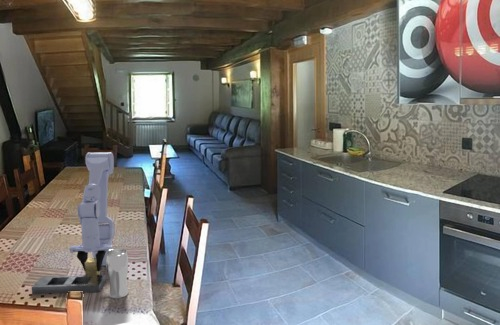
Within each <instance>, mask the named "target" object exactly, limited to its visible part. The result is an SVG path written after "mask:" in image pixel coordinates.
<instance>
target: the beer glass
mask: <svg viewBox="0 0 500 325" xmlns="http://www.w3.org/2000/svg"><path fill="white" fill-rule="evenodd" d="M105 269H106V273H107V278H108V281H109V292H108V296H109V297H110V298H111V299H114V298H115V300H116V299H117V300H118V299H123V298H125V297H127V295H128V294H129V289H128V285H127V283H128V282H127V279H128V273H129V257H128V250H127V249H125V248H113V249H112V250H109V251H107V252H106V267H105Z"/></svg>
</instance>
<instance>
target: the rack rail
mask: <svg viewBox="0 0 500 325" xmlns="http://www.w3.org/2000/svg"><path fill="white" fill-rule="evenodd" d="M106 276H107V275H106V274H99V275H86V274H85V275H84V274H83V275H50V276H49V275H48V276H47V275H45V276H44V275H43V276H41V277H40V278H38V280H37V281H36V282H35V283H34V284H32V286H31V294H32V295H38V294H39V295H41V294H68V293H67V292H68V291H83V292H82V293H99V292H101V290H102V289H103V286H104V285H105V283H106V282H107V279H106V278H107V277H106Z"/></svg>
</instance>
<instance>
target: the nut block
mask: <svg viewBox="0 0 500 325" xmlns="http://www.w3.org/2000/svg"><path fill="white" fill-rule="evenodd" d="M84 272H85V275H101V270H100V271H98V270H97V259H96V258H93V257H88V259H87V260H86V261H85V271H84Z"/></svg>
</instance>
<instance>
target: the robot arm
mask: <svg viewBox="0 0 500 325" xmlns="http://www.w3.org/2000/svg"><path fill="white" fill-rule="evenodd" d="M84 159H85V165H86V168H87V170H88V172H89V174H88V175H89V176H88V184H87V185H85V186H84V189H83V193H82V200H81V203H78V207H77V217H78V219H79V224H80V226H81V228H80V229H81V240H82V241H81V242H82V244H76V245H70V247H69V253H70V254H72V253H77V254H76V258H77V259H78V260H79V262H80V264H81V266H82V268H83V271H84V272H85V261H86V260H87V259H88V258H89V256H88V255H89V254H88V253H91V256H92V257H91V258H96V259H97V270H98V271H100V272H101V270H102V267H103V266H106V252H107V251H109V250H112V249H114V243H113V242H114V241H113V240H114V238H115V233H116V228H115V221H114V220H113V219H112V218H111V217H109V216H108V194H109V189H108V188H109V178H110V175H112V174H114V170H115V168H114V166H115V156H114V153H113V152H111V151H110V152H86V154H85V158H84Z"/></svg>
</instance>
